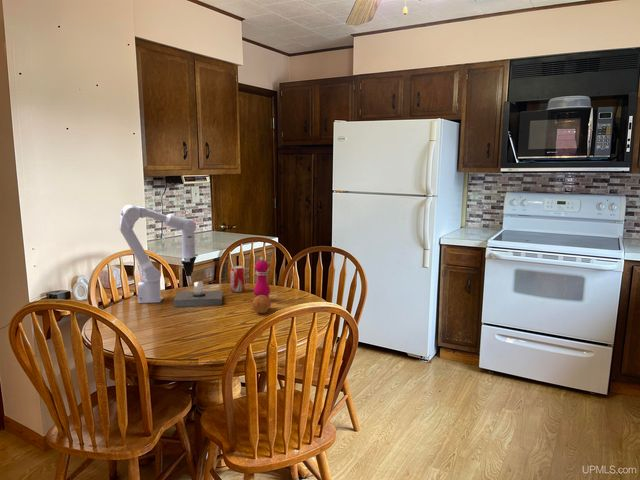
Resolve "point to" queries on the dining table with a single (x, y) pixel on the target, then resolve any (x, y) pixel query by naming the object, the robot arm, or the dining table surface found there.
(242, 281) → the soda can
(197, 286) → the steel peg
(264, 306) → the potato
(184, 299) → the dock plate
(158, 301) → the robot arm
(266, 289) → the pepper mill
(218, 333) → the dining table surface
